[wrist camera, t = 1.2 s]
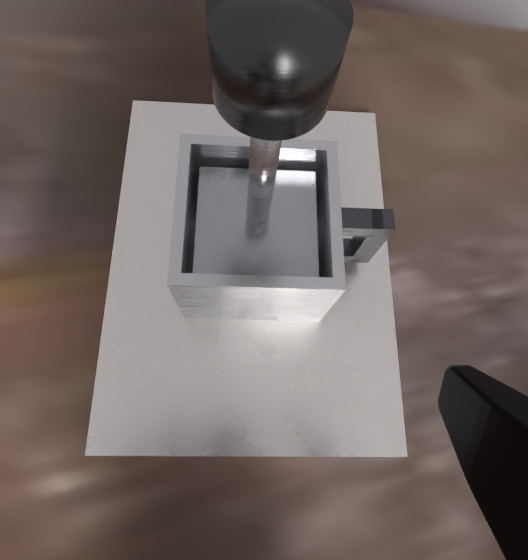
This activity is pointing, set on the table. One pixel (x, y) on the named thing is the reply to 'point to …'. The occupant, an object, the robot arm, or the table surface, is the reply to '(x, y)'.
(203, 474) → the table surface
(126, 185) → the white socket holder tray
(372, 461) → the table surface
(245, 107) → the plunger
